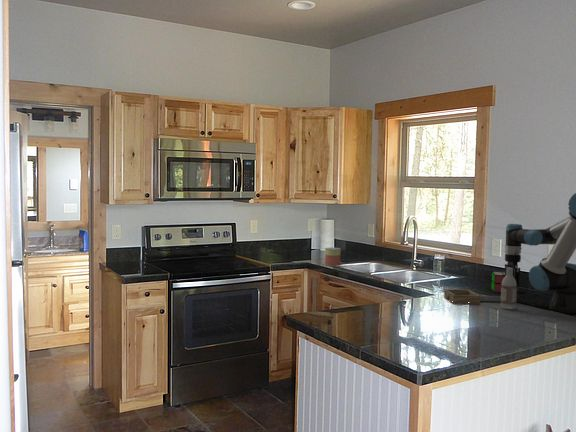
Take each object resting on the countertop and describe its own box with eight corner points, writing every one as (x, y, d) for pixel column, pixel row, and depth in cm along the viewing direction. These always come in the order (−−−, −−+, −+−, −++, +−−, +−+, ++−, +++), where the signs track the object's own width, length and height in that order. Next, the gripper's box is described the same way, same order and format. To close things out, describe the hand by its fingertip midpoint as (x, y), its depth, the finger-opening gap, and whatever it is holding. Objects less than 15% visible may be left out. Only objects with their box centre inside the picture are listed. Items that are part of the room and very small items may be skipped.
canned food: (343, 264, 403) (343, 248, 402) (335, 266, 393) (336, 249, 392) (329, 263, 409) (329, 247, 408) (321, 265, 399) (322, 248, 398)
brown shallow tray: (479, 304, 278) (480, 295, 277) (453, 304, 277) (453, 295, 277) (469, 298, 293) (469, 289, 293) (443, 297, 293) (444, 289, 293)
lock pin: (516, 302, 284) (517, 281, 283) (474, 301, 283) (475, 280, 282) (512, 300, 288) (513, 279, 287) (471, 299, 288) (472, 278, 287)
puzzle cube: (512, 293, 309) (513, 275, 308) (494, 292, 311) (494, 274, 310) (509, 289, 319) (510, 272, 318) (491, 288, 321) (492, 271, 320)
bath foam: (497, 307, 273) (499, 266, 272) (509, 306, 275) (510, 266, 274) (506, 310, 266) (508, 269, 265) (518, 309, 268) (520, 268, 267)
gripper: (528, 256, 276) (525, 302, 277) (512, 251, 293) (510, 295, 295) (513, 256, 275) (511, 302, 277) (498, 251, 293) (496, 295, 294)
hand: (510, 298), depth 286 cm, fingers closed on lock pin, 4 cm apart
